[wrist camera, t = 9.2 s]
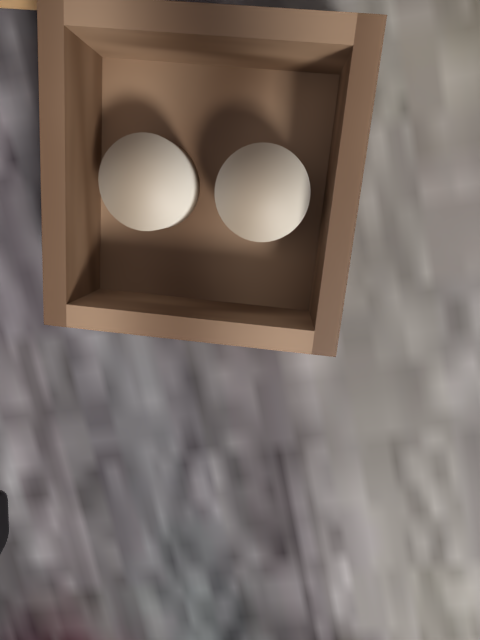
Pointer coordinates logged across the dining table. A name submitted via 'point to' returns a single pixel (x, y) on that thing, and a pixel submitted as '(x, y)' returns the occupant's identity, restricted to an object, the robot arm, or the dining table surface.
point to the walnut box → (202, 167)
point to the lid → (19, 4)
